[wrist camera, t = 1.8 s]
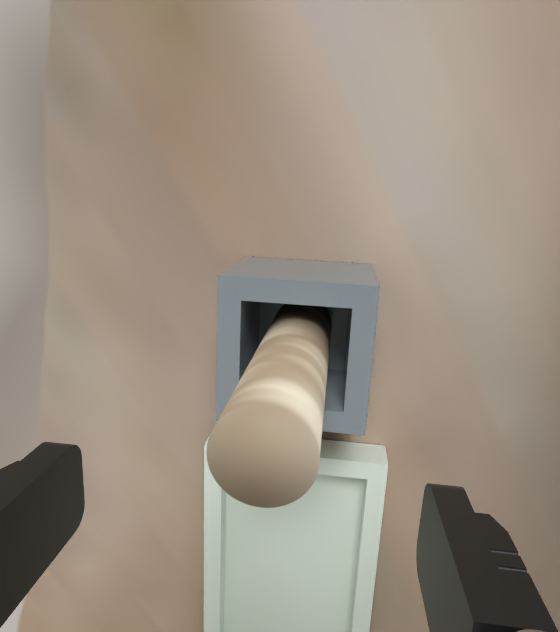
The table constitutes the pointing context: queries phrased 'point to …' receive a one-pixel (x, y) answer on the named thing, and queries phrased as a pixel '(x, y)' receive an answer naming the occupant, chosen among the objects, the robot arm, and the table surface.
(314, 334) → the dowel
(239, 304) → the slate box
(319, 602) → the sage tray
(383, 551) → the table surface
